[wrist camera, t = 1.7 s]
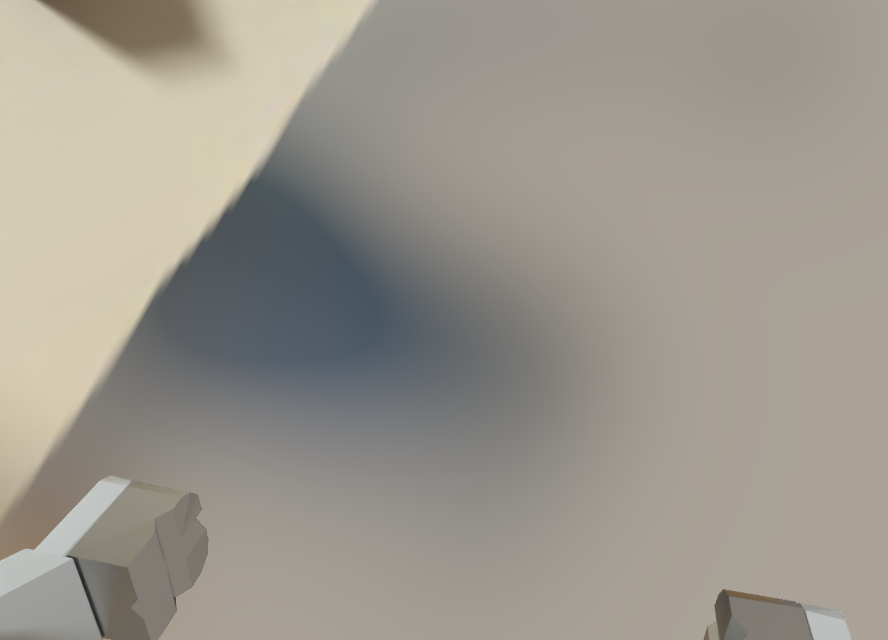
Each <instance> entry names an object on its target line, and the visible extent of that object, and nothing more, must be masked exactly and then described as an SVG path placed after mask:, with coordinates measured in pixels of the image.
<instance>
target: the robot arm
mask: <svg viewBox="0 0 888 640" xmlns="http://www.w3.org/2000/svg"><path fill="white" fill-rule="evenodd" d="M201 510H202V508H201V505H200V501H199V498H198V495H197V494H194V493H191V492H187V491H182V490H177V489H172V488H168V487H163V486H158V485H154V484H149V483H144V482H140V481H134V480H129V479H123V478H119V477H114V476H109V477H107V478H105V479H103V480H100V481H99V482H98V483H97V484H96V485H95V486H94V487H93V488H92V490H91V491H90V492H89V493H88V494H87V495H86V496H85V497H84V498H83V499H82V500H81V501H80V502H79V503H78V504H77V505H76V507H74V509H73V510H72V511H71V512H70V513H69V514H68V515H67V516H66V517H65V518H64V519H63V520H62V521H61V522H60V523H59V524H58V525H57V526H56V527H55V529H54V530H53V531H52V532H51V533H50V534H49V535H48V536H47V537H46V538H45V539H44V540H43V541H42V542H41V543H40V544H39V546H38V547H37V548H36V549H35V550H32V549H24V550H22V551H19V552H18V553H15V554H13V555H11V556H9V557H7V558H5V559H3V560H1V561H0V640H103V639H102V638H106V639H111V640H158V639H159V637H160V636H161V634H162V633H163V631H164V630H165V628H166V627H167V625H168V624H169V622H170V620H171V619H172V617H173V616H174V614H175V613H176V611H177V608H176V597H177V596H178V595H180V594H182V593H183V592H185V591H186V590H188V589H190V588H191V587H192V586H193V585H194V583H195V581H196V580H197V578H198V576H199V575H200V573H201V572H202V568H203V566H204V563H205V560H206V557H207V553H208V536H207V531H206V529H205V527H203V525H202V524H201V523H200V522H199V521H198V520H197V519H196V517H197V516H198V514H199V513H200V511H201ZM715 613H716V619H717V621H716V622H715V623H713V624H711V625H709V626H708V627H707V630H706V634H705V637H704V640H852V638H851V635H850V632H849V629H848V626H847V623H846V620H845V618H844V616H843V615H842V614H841V613H840V611H839V610H836V609H830V608H825V607H819V606H813V605H808V604H803V603H796V602H795V601H788V600H783V599H777V598H771V597H765V596H760V595H754V594H748V593H742V592H736V591H730V590H725V589H723V590H722V591H721V593H719V595H718V598H717V600H716V603H715Z"/></svg>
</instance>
